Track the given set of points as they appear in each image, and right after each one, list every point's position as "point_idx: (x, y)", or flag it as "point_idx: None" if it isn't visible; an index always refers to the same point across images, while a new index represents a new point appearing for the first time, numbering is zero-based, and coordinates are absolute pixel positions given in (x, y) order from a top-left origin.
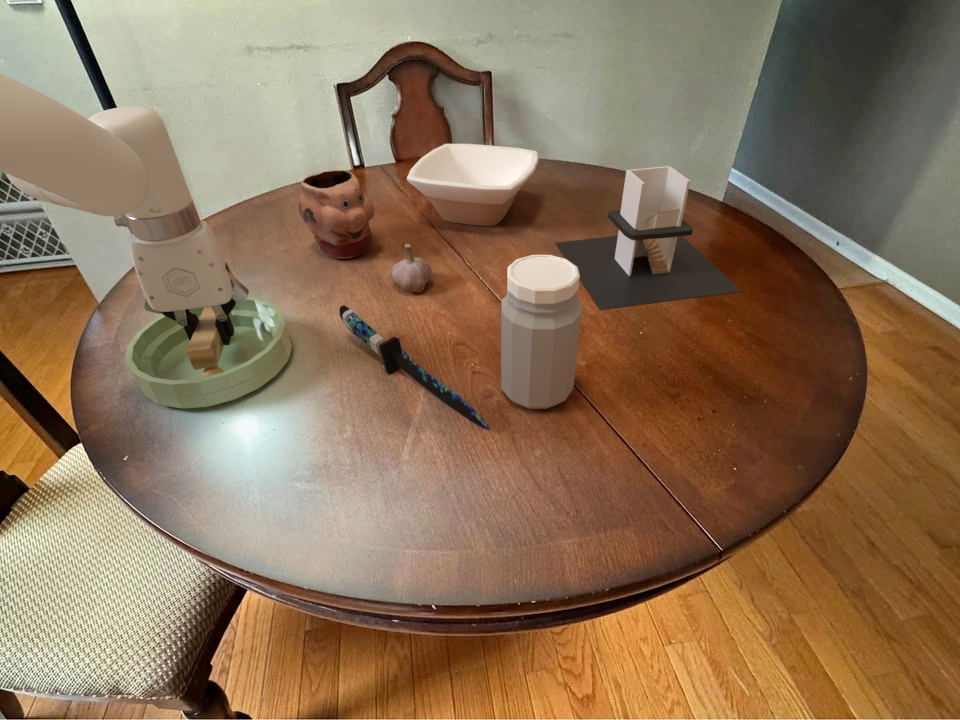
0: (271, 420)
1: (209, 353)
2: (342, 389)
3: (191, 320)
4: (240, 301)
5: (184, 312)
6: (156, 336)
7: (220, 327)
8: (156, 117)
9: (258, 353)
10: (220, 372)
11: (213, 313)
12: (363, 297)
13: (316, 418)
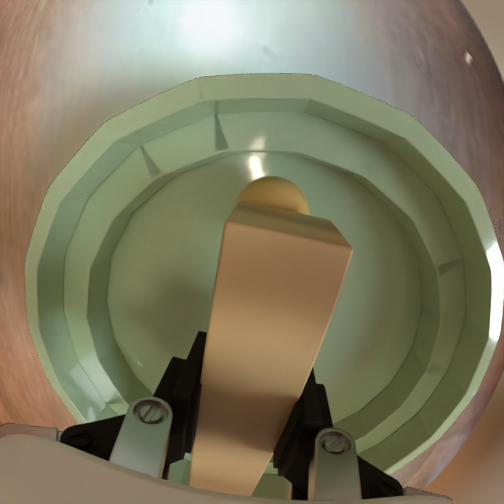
0: (150, 27)
1: (243, 216)
2: (16, 103)
3: (295, 448)
4: (40, 429)
5: (312, 485)
6: (392, 435)
7: (182, 379)
8: None
9: (149, 304)
10: (241, 200)
11: (222, 461)
12: (8, 378)
13: (72, 24)
